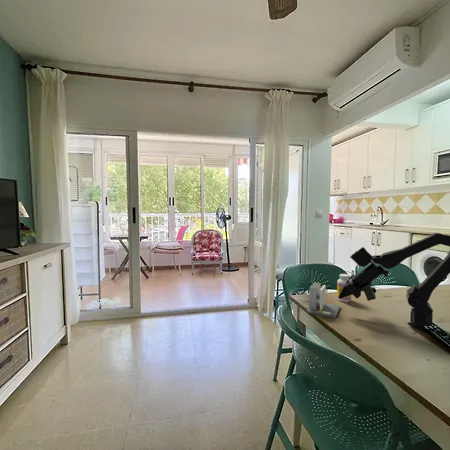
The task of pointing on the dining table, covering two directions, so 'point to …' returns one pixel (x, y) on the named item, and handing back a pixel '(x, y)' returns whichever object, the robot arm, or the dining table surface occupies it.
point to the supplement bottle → (340, 285)
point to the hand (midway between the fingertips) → (339, 297)
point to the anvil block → (314, 296)
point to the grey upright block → (321, 297)
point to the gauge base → (326, 310)
